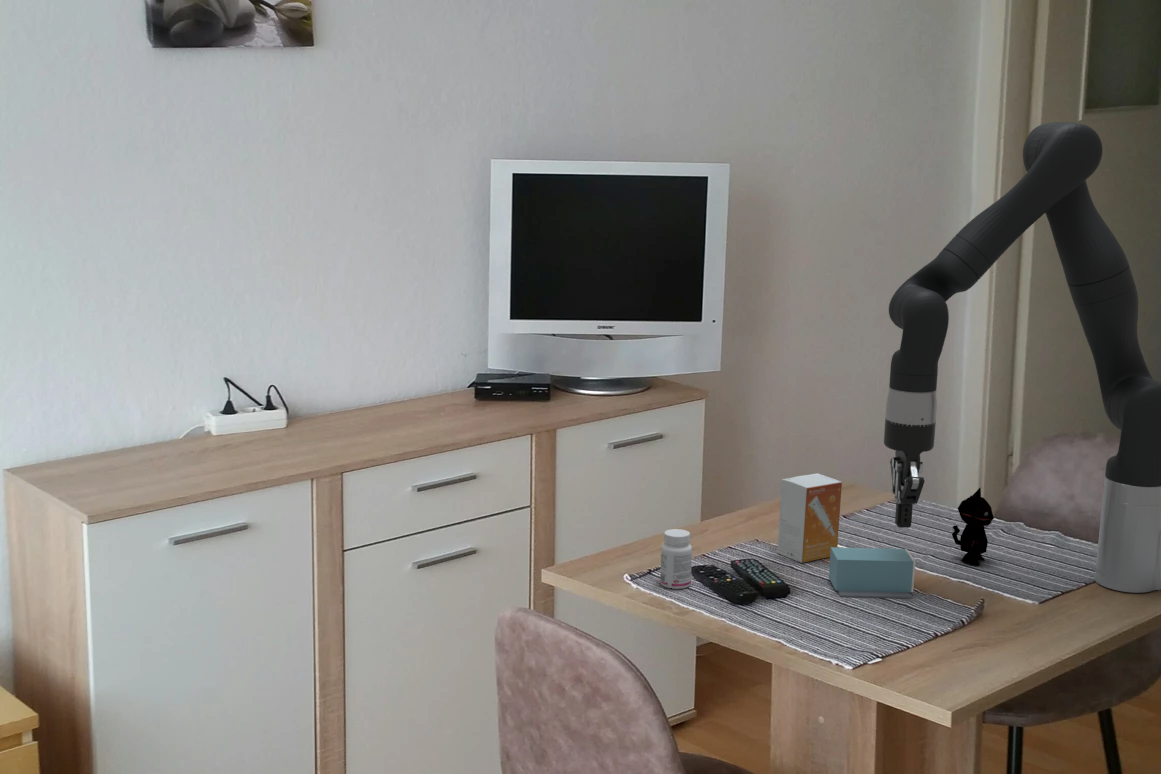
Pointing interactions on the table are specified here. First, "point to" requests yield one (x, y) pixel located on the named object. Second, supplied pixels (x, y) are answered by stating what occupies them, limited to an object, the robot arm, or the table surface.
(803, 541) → the small box
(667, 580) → the pill bottle
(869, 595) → the felt pad
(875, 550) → the teal block
